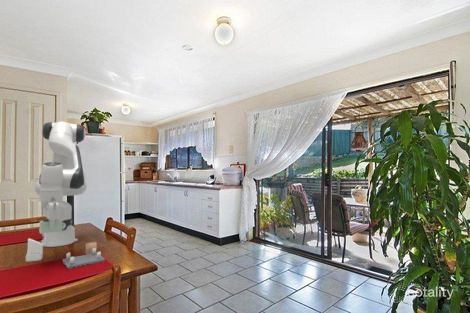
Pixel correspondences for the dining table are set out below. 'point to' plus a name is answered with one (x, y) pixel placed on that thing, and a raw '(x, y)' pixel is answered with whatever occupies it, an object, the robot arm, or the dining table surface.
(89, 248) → the tan orange cube
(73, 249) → the dining table surface
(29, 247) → the white wedge bracket
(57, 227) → the pale green notched block
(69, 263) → the mounting plate
